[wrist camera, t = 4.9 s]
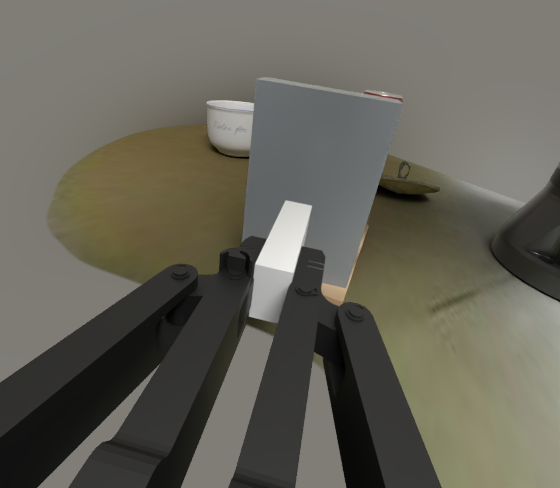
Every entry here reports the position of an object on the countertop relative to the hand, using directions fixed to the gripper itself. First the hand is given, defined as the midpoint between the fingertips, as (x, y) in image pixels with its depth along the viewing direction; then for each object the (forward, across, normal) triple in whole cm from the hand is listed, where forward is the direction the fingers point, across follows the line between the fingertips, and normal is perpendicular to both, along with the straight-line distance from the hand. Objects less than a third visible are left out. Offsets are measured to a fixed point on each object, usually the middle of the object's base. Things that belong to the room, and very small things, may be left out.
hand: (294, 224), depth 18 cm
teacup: (+39, -13, -8) cm, 42 cm away
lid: (+32, +12, -8) cm, 35 cm away
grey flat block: (+7, 0, -7) cm, 10 cm away
